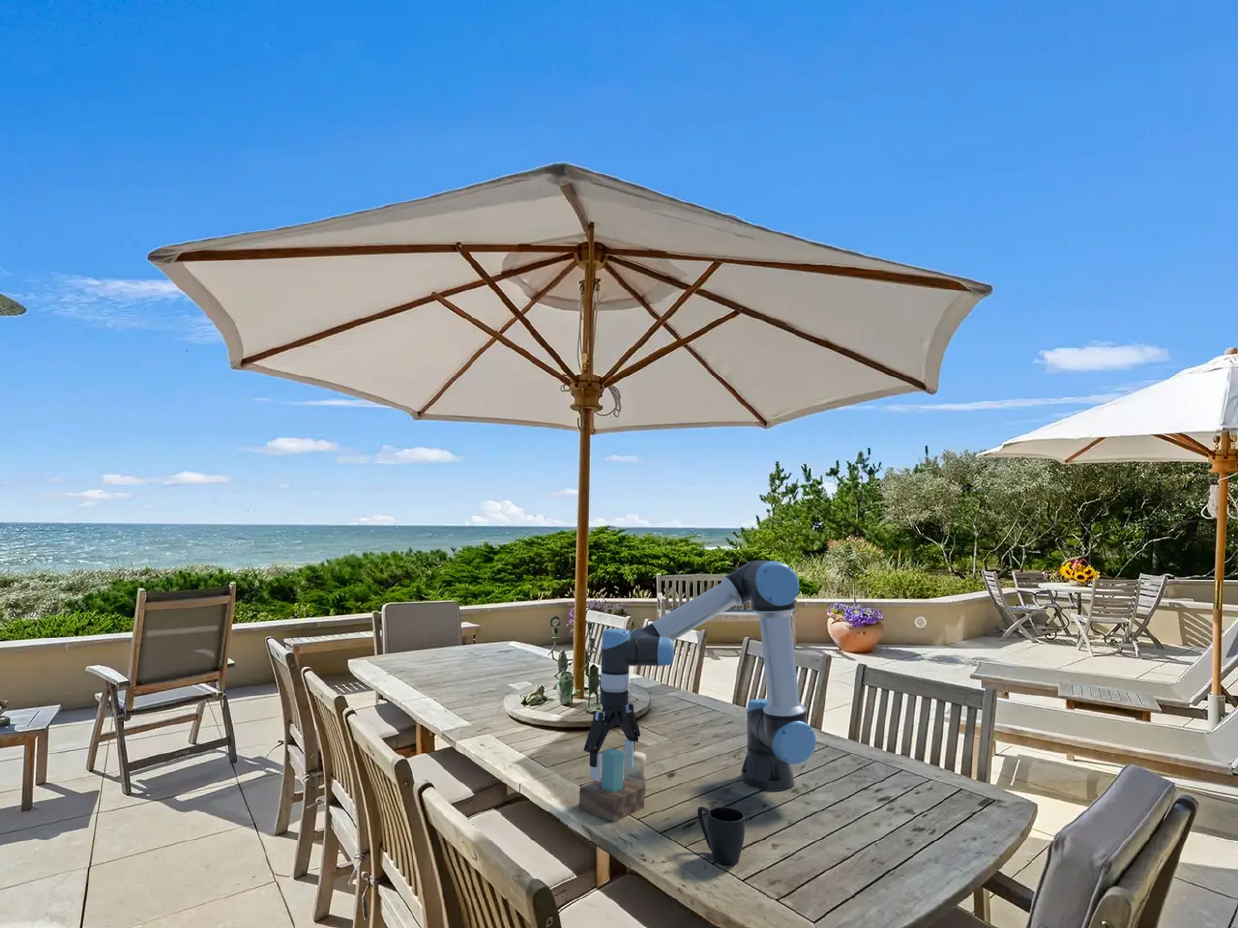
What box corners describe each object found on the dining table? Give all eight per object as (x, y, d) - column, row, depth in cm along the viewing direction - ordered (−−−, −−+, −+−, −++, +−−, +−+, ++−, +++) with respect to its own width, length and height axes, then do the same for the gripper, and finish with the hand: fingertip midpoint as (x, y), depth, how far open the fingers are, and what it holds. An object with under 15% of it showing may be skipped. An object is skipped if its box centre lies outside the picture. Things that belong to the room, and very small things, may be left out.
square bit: (611, 803, 169) (612, 748, 171) (622, 807, 167) (623, 751, 168) (601, 807, 166) (602, 751, 168) (612, 812, 164) (613, 755, 165)
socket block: (609, 794, 175) (609, 775, 175) (643, 807, 167) (644, 787, 168) (579, 807, 166) (579, 787, 166) (614, 821, 158) (614, 800, 158)
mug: (711, 840, 149) (712, 797, 150) (752, 861, 140) (752, 815, 141) (687, 850, 144) (687, 806, 145) (727, 872, 135) (728, 825, 136)
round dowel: (632, 786, 181) (633, 749, 182) (649, 792, 177) (650, 754, 178) (619, 792, 176) (620, 754, 177) (636, 798, 172) (636, 760, 174)
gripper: (632, 679, 182) (631, 757, 179) (571, 694, 163) (568, 781, 160) (653, 683, 177) (652, 763, 174) (593, 699, 158) (590, 789, 155)
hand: (612, 772), depth 167 cm, fingers open, 13 cm apart
